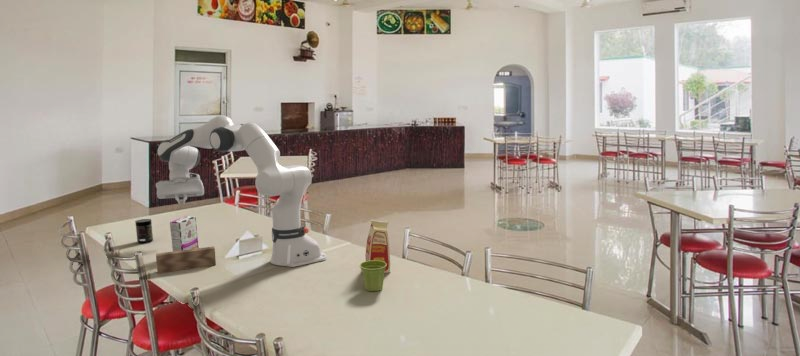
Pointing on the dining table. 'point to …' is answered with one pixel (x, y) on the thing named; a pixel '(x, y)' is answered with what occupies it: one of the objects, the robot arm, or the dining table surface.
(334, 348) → the dining table surface
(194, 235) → the candy bar box
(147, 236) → the supplement container
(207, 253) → the walnut board
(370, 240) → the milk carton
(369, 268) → the plant pot
